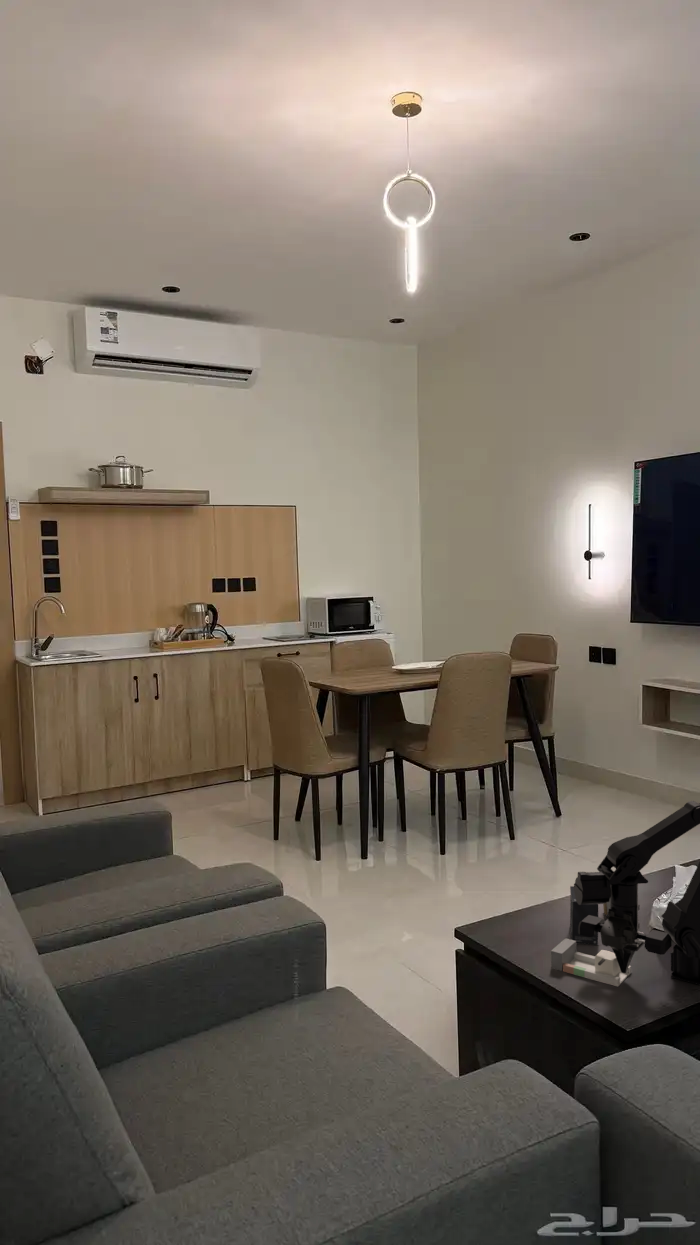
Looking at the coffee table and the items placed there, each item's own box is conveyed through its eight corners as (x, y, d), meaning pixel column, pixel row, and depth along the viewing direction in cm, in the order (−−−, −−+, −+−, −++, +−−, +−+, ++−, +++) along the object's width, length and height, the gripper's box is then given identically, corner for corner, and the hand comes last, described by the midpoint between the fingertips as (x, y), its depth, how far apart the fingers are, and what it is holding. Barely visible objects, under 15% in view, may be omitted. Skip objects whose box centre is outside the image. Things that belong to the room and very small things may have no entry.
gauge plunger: (619, 971, 192) (619, 954, 192) (608, 983, 187) (608, 965, 187) (602, 967, 195) (601, 949, 195) (590, 978, 189) (590, 960, 189)
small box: (599, 946, 207) (599, 902, 206) (571, 944, 208) (571, 901, 207) (596, 928, 217) (596, 886, 216) (569, 926, 218) (569, 885, 218)
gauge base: (631, 972, 193) (631, 954, 193) (618, 986, 187) (618, 968, 186) (565, 955, 202) (565, 938, 202) (551, 968, 196) (551, 950, 196)
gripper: (568, 904, 188) (568, 975, 189) (655, 924, 177) (655, 999, 178) (588, 889, 197) (588, 956, 198) (672, 907, 186) (672, 978, 186)
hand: (624, 972), depth 190 cm, fingers closed
